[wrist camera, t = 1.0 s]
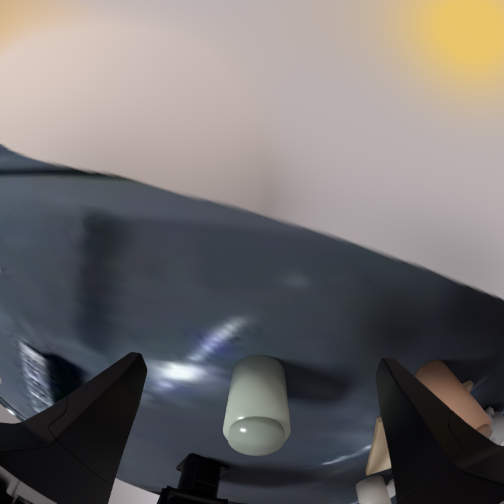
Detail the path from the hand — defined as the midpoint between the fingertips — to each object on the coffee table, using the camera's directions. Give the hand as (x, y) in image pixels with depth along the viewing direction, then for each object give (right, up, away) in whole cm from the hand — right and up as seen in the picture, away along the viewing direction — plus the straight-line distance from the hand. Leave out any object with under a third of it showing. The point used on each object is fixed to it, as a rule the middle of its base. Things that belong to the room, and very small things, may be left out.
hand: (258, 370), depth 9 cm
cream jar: (+21, -38, +23) cm, 49 cm away
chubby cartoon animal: (+44, -27, +20) cm, 55 cm away
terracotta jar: (+22, -12, +17) cm, 30 cm away
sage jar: (0, -9, +17) cm, 19 cm away
